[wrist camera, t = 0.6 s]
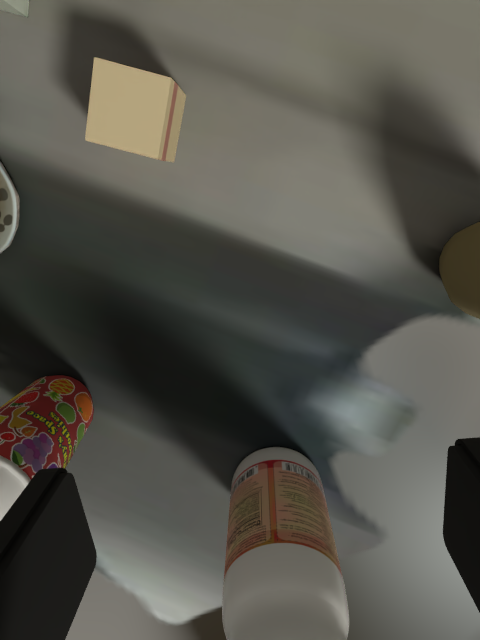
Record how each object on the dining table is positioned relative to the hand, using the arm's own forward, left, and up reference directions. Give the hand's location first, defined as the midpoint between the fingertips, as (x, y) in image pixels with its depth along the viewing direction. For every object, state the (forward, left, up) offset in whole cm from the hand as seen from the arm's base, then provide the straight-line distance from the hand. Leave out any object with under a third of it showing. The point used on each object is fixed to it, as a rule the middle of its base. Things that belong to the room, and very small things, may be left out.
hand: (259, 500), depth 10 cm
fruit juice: (+22, +8, -28) cm, 36 cm away
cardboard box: (-9, -11, -28) cm, 31 cm away
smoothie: (+18, -15, -28) cm, 36 cm away
